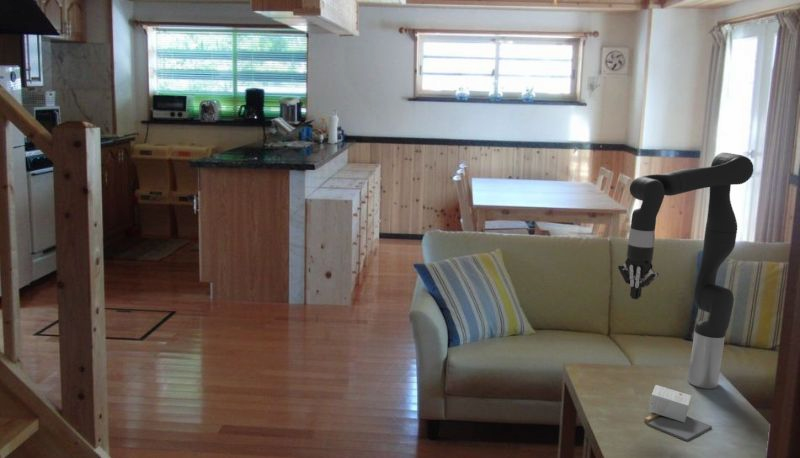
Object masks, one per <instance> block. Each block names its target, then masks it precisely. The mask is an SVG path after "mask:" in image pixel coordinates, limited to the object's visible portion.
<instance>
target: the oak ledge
mask: <svg viewBox="0 0 800 458" xmlns="http://www.w3.org/2000/svg"><path fill="white" fill-rule="evenodd" d="M661 416H662V415H659V414H655V413H653V414H650V415H648V416H647V417H644V423H646V424H648V423H649V422H651V421H653V420H655V419H657V418H659V417H661Z"/></svg>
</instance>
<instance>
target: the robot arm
mask: <svg viewBox="0 0 800 458" xmlns="http://www.w3.org/2000/svg"><path fill="white" fill-rule="evenodd" d="M753 174H754V164H753V161H752V160H751V159H750V158H749V157H747V156H744V155H741V154H736V153H731V152H730V153H729V152H720V153H718V154H716V156H715V157H714V158H713V160H712V161H711V165H710V166H706V167H704V166H703V167H691V168H682V169H677V170H673V171H670V172H666V173H662V174H661V173H658V174H649V175H641V176H638V177H637V178H635V179H633V181H632V182H631V183H630V186H629V193H630V195H631V196H632V198H634V199H636V200H639V201H642V204H641V205H640V208H636V209H634V210H633V211H632V213H631V214H632V215H631V219H630V220H631V221H630V229H629V234H628V239H627V250H626V260H625V261H624V263H623V264H620V265H618V267H617V269H618V271H619V272H620V274H621V276H622V278H623V280H624V282H625V284H628V285H629V286H630V293H629V295H630V298H631V299H633V300H639V299H640V298H641V297H642V288H646V287H648V286H649V285H650V284H651V283H653V281H654V280H656V279H657V278H658V277H659V275H660V274H659V272H656V271H655V270H654V269H653V263H652V261H653V259H654V258H653V256H654V248H655V243H656V242H655V240H656V225H657V217H658V214H659V212H660V209H661V207H662V203H663V201H664V198H665V196H667V197H668V196H669V197H670V196H677V195H681V194H684V193H688V192H692V191H697V190H702V189H706V188H709V199H708V209H707V218H706V224H705V231H704V238H703V249H702V254H701V259H700V267H699V271H698V275H697V279H696V284H695V288H694V293H693V303H694V305H695V307H696V308H697V309H699V310H700V311H704V312H706V313H709V316H708V317H709V318H708V320H699V321H697V322H696V323H695V327H694V332H693V333H694V334H693V342H692V346H691V347H692V348H691V355H690V361H689V367H688V368H689V369H688V376H687V382H688V384H690V385H692V386H694V387H698V388H702V389H717V388H718V386H719V385H718V384H719V379H720V373H721V365H722V359H723V352H724V346H725V345H724V344H725V339H726V332H727V330H728V328H729V325H730V322H731V316H732V312H733V307H734V300H735V299H734V294H733V291H732V290H731V289H730V288H727V287H724V286H721V285H718V284H716V279H717V275H718V271H719V269H720V267H721V265H722V264H723V263H724V261H725V260H727V258H728V257H729V256H730V254H731V253H732V252H733V250H734V248H735V246H736V240H737V233H738V222H737V218H736V214H735V212H734V209H733V206H732V202H731V188H732V185H733V186H734V185H742V184H744V183H747V182H748V181H749V180H750V179H751V178H752V175H753ZM647 275H648V277H647V278H646V276H647Z"/></svg>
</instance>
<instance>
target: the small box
mask: <svg viewBox="0 0 800 458" xmlns="http://www.w3.org/2000/svg"><path fill="white" fill-rule="evenodd" d="M691 401H692V395H691V394H689V393H688V394H687V393H683V392H681V391H677V390H674V389H672V388H671V389H670V388H669V387H666V386H665V387H664V386H661V385H658V384H655V385H654V387H653V390H652V393H651V395H650V399H649V405H648V407H647V408H648V409H647V411H648V413H649V412H650V413H653V414H659V415H662V416H665V417H668V418H671V419H674V420H678V421H681V422H684V423H685V420H686V417H688V413H689V410H690V405H691Z"/></svg>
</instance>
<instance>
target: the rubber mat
mask: <svg viewBox="0 0 800 458" xmlns="http://www.w3.org/2000/svg"><path fill="white" fill-rule="evenodd" d="M647 426H649V427H652V428H654V429H657V430H659V431H661V432H663V433H665V434H668V435H671V436H673V437H675V438H679V439H681V440H682V441H686V442H688V441H690V440H692V439H694V438H695V437H697V436H699V435H701V434H703V433H706V432H707V431H709V430H710V429H712V427H713V426H712V425H710V424H708V423H705V422H703V421H700V420H698V419H695V418H692V417H690V416H687V417H686V420H685V423H684V422H681V421H678V420H674V419H671V418H668V417H665V416H661V417H659V418H657V419H655V420H653V421H651V422H649V423H647Z"/></svg>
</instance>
